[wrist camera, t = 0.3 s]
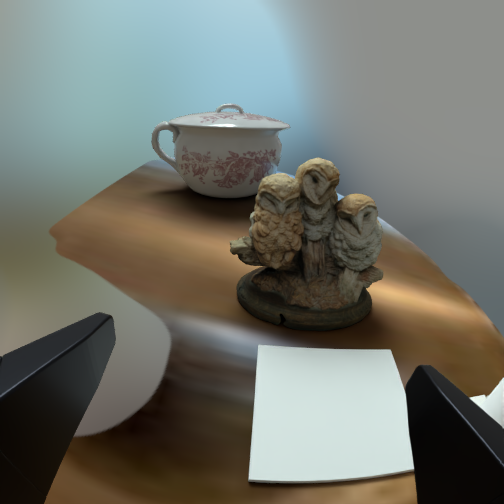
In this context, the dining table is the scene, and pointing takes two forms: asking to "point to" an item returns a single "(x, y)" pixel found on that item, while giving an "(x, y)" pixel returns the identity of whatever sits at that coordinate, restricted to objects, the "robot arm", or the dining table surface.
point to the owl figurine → (309, 251)
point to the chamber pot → (223, 150)
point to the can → (495, 404)
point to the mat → (328, 416)
